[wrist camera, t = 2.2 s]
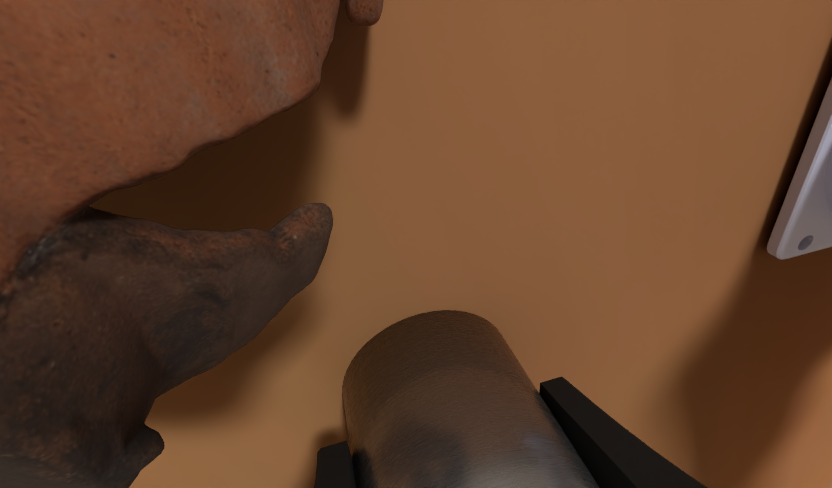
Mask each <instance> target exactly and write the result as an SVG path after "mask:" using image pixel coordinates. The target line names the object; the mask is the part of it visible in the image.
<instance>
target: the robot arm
mask: <svg viewBox="0 0 832 488" xmlns="http://www.w3.org/2000/svg"><path fill="white" fill-rule="evenodd" d="M828 247H832V78H831V81H830V83H829V86H828V88H827V91H826V94H825V96H824V99H823V101H822V104H821V107H820V109H819V112H818V114H817V117H816V119H815V122H814V125H813V127H812V130H811V132H810V135H809V138H808V140H807V143H806V145H805V148H804V151H803V153H802V156H801V158H800V161H799V164H798V166H797V169H796V171H795V174H794V176H793V179H792V182H791V184H790V187H789V189H788V192H787V195H786V197H785V200H784V202H783V205H782V208H781V210H780V213H779V215H778V218H777V220H776V223H775V226H774V228H773V231H772V233H771V236H770V239H769V241H768V244H767V251H768V253H769V254H771V255H773V256H774V257H776V258H778V259H780V260H782V259H788V258H792V257H796V256H799V255H803V254H806V253H810V252H814V251H817V250H821V249H825V248H828ZM539 394H540V396H541V397H542V399H543V400H544V402H545V403H546V405H547V407H548V408H549V410H550V411H551V413H552V414H553V416H554V417H555V419H556V421H557V422H558V424H559V425H560V427H561V428H562V430H563V431H564V433H565V435H566V436H567V438H568V439H569V441H570V442H571V444H572V445H573V447H574V449H575V450H576V452H577V453H578V455H579V456H580V458H581V460H582V461H583V463H584V464H585V466H586V467H587V469H588V470H589V472H590V474H591V475H592V477H593V478H594V480H595V481H596V483H597V484H598V486H599V488H707V487H706V486H704V485H703V484H701V483H700V482H698V481H697V480H695V479H694V478H692V477H691V476H689V475H688V474H686V473H685V472H684V471H682V470H681V469H679V468H678V467H676V466H675V465H674V464H672V463H671V462H669V461H668V460H667V459H665V458H664V457H662V456H661V455H660V454H658V453H657V452H656V451H654V450H653V449H651V448H650V447H649V446H648V445H646V444H645V443H644V442H642V441H641V440H640V439H638V438H637V437H636V436H634V435H633V434H632V433H631V432H629V431H628V430H627V429H625V428H624V427H623V426H621V425H620V424H619V423H618V422H616V421H615V420H614V419H613V418H611V417H610V416H609V415H608V414H607V413H605V412H604V411H603V410H602V409H600V408H599V407H598V406H597V405H595V404H594V403H593V402H592V401H591V400H589V399H588V398H587V397H586V396H585V395H583V394H582V393H581V392H580V391H579V390H578V389H576V388H575V387H574V386H573V385H572V384H570V383H569V382H568V381H567V380H566V379H564V378H563V377H559V378H555V379H552V380H549V381H545V382H542V383H540V392H539ZM314 488H356V483H355V477H354V470H353V463H352V457H351V454H350V451H349V447H348V444H347V441H344V442H341V443H337V444H334V445H330V446H327V447H324V448H321V449H320V450H319V451H318V453H317V469H316V479H315V487H314Z"/></svg>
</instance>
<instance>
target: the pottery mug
mask: <svg viewBox="0 0 832 488" xmlns="http://www.w3.org/2000/svg"><path fill="white" fill-rule="evenodd" d="M339 5H340V0H0V488H129V486H130V485H131V484H132V482H133V481H134V480H135V478H136V477H137V476H138V474H139V472H140V471H141V470H142V469H143V468H144V467H145V466H147V465H148V464H149V463H150V462H152V461H153V460H154V459H155V458H156V457H157V456H159V455H160V454H161V452H162V451H163V449H164V441H163V439H162V437H161V436H160V434H159V432H157V431H155V430H153V429H151V428H149V427H148V426H146V425H145V423H144V422H145V420H146V418H147V416H148V413H149V411H150V409H151V407H152V405H153V403H154V400H155V398H157V397H158V396H160V395H161V394H163V393H165V392H167V391H169V390H170V389H172V388H173V387H175V386H177V385H179V384H181V383H183V382H184V381H186V380H188V379H190V378H192V377H194V376H196V375H198V374H201V373H203V372H205V371H207V370H209V369H211V368H213V367H214V366H216V365H217V364H219V363H221V362H222V361H223V360H224V359H225V358H226V357H228V356H229V355H230V354H232V353H233V352H235V351H237V350H238V349H240V348H241V347H243V346H244V345H246V344H247V343H248V342H249V341H251V340H252V339H254V338H255V337H256V336H257V335H258V334H259V333H260V332H261V330H262V329H263V328H264V327H265V326H266V324H267V323H268V322H269V321H270V320H271V319H272V318H274V317H275V316H276V315H277V314H278V312H279V311H280V310H281V309H282V308H283V307H284V306H285V305H286V304H287V303H288V302H289V300H290V299H291V298H292V297H293V296H295V295H296V294H297V293H299V292H300V291H301V290H303V289H304V288H305V287H306V286H307V285H309V284H310V283H311V282H312V281H313V280H314V278H315V276H316V275H317V273H318V270H319V267H320V265H321V262H322V260H323V258H324V255H325V253H326V249H327V246H328V242H329V237H330V234H331V230H332V226H333V217H332V212H331V209H330V208H329V207H328V206H327V205H325V204H323V203H311V204H307V205H304V206H302V207H300V208H298V209H296V210H295V211H294V212H292V213H291V214H290V215H289V216H287V217H286V218H284V219H283V220H281V221H280V222H279V223H278V224H277V225H275V226H274V227H273V228H272V229H271V230H269V231H267V232H266V231H263V230H259V229H256V228H247V229H241V230H238V231H224V232H221V231H206V230H185V229H176V228H171V227H169V226H166V225H163V224H159V223H156V222H152V221H149V220H145V219H135V218H130V217H125V216H120V215H116V214H112V213H109V212H105V211H101V210H97V209H94V208H92V207H90V206H89V205H90V204H92V203H94V202H95V201H97V200H98V199H100V198H101V197H103V196H105V195H106V194H108V193H109V192H111V191H114V190H116V189H123V188H129V187H132V186H136V185H139V184H141V183H143V182H145V181H148V180H152V179H155V178H158V177H160V176H162V175H165V174H167V173H169V172H171V171H173V170H174V169H176V168H178V167H179V166H181V165H182V164H183V163H184V162H185V161H186V160H187V159H188V158H189V157H191V156H192V155H194V154H195V153H197V152H199V151H201V150H203V149H205V148H208V147H210V146H213V145H217V144H220V143H223V142H226V141H228V140H230V139H233V138H235V137H236V136H238V135H239V134H242V133H244V132H247V131H249V130H250V129H252V128H254V127H255V126H257V125H258V124H260V123H262V122H263V121H265V120H266V119H268V118H269V117H271V116H273V115H275V114H277V113H280V112H283V111H286V110H288V109H290V108H292V107H293V106H295V105H297V104H298V103H300V102H302V101H303V100H305V99H306V98H308V97H309V96H311V95H312V94H313V93H314V92H315V91H316V90H317V89H318V88H319V84H320V80H321V69H322V64H323V61H324V60H325V58H326V56H327V53H328V50H329V48H330V45H331V43H332V41H333V38H334V30H335V24H336V20H337V15H338V10H339ZM345 6H346V12H347V16H348V18H349V20H350V21H351V22H352V23H353V24H355V25H357V26H371V25H374V24H375V23H377V21H378V20H379V18H380V16H381V12H382V8H383V0H345Z"/></svg>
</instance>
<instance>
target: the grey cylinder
mask: <svg viewBox="0 0 832 488" xmlns="http://www.w3.org/2000/svg"><path fill="white" fill-rule="evenodd" d="M342 396H343V402H344V409H345V416H346V423H347V429H348V436H349V443H350V450H351V456H352V463H353V470H354V477H355V483H356V488H599V486H598V484H597V483H596V481H595V480H594V478H593V477H592V475H591V474H590V472H589V470H588V469H587V467H586V466H585V464H584V463H583V461H582V460H581V458H580V456H579V455H578V453H577V452H576V450H575V449H574V447H573V445H572V444H571V442H570V441H569V439H568V438H567V436H566V435H565V433H564V431H563V430H562V428H561V427H560V425H559V424H558V422H557V421H556V419H555V417H554V416H553V414H552V413H551V411H550V410H549V408H548V407H547V405H546V403H545V402H544V400H543V399H542V397H541V396H540V394H539V392H538V391H537V389H536V388H535V386H534V385H533V383H532V382H531V380H530V378H529V377H528V375H527V374H526V372H525V371H524V369H523V368H522V366H521V364H520V363H519V361H518V360H517V358H516V357H515V355H514V354H513V352H512V350H511V349H510V347H509V346H508V344H507V343H506V341H505V340H504V338H503V336H502V335H501V333H500V332H499V331H498V329H497V328H496V327H495V326H494V325H492V324H491V323H490V322H488V321H487V320H485V319H484V318H482V317H479V316H477V315H475V314H471V313H467V312H462V311H451V310H443V311H432V312H427V313H422V314H418V315H415V316H412V317H409V318H406V319H404V320H401V321H399V322H397V323H395V324H393V325H391V326H389V327H388V328H386V329H384V330H383V331H381V332H380V333H378V334H377V335H376V336H374V337H373V338H372V339H371V340H370V341H368V342H367V343H366V344H365V345H364V346H363V347H362V348H361V350H360V351H359V352H358V353H357V354H356V356H355V357H354V359H353V360H352V362H351V364H350V365H349V367H348V369H347V372H346V374H345V377H344V382H343V389H342Z"/></svg>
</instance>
